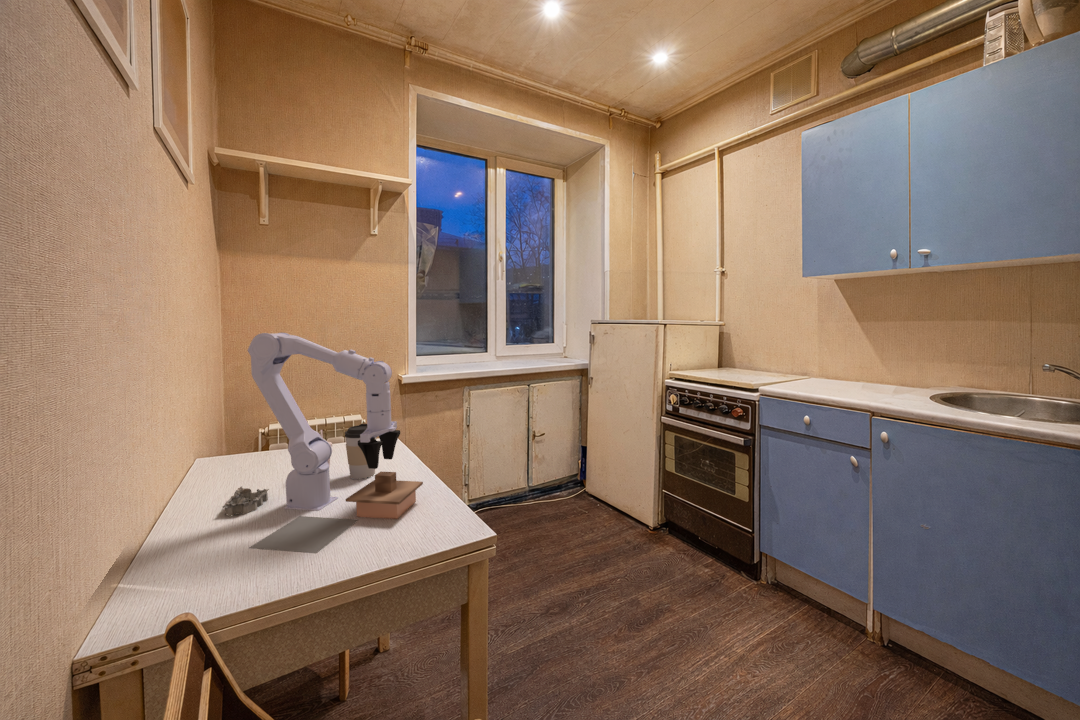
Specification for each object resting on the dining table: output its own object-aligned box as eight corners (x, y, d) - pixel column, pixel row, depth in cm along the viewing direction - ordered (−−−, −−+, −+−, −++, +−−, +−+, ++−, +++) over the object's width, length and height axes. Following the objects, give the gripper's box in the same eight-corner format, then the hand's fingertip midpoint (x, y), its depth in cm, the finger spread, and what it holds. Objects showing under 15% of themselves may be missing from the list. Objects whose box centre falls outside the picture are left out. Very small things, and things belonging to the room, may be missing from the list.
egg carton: (241, 500, 115) (240, 485, 115) (273, 498, 116) (272, 483, 116) (218, 518, 104) (217, 501, 104) (253, 515, 106) (252, 498, 105)
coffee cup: (371, 480, 128) (369, 429, 127) (340, 480, 128) (338, 429, 127) (383, 470, 137) (381, 422, 136) (354, 470, 137) (352, 422, 136)
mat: (248, 549, 89) (248, 547, 89) (299, 517, 104) (299, 516, 104) (316, 554, 86) (316, 552, 86) (359, 521, 101) (359, 519, 101)
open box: (356, 518, 103) (356, 499, 103) (378, 501, 113) (378, 484, 112) (397, 520, 101) (396, 501, 101) (415, 503, 111) (415, 485, 111)
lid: (345, 501, 101) (344, 481, 101) (375, 481, 114) (374, 464, 114) (399, 504, 99) (398, 484, 99) (422, 484, 112) (422, 466, 112)
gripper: (379, 416, 103) (381, 473, 104) (406, 405, 117) (408, 455, 118) (351, 415, 104) (353, 472, 105) (382, 404, 118) (384, 454, 120)
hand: (380, 463), depth 112 cm, fingers open, 7 cm apart
